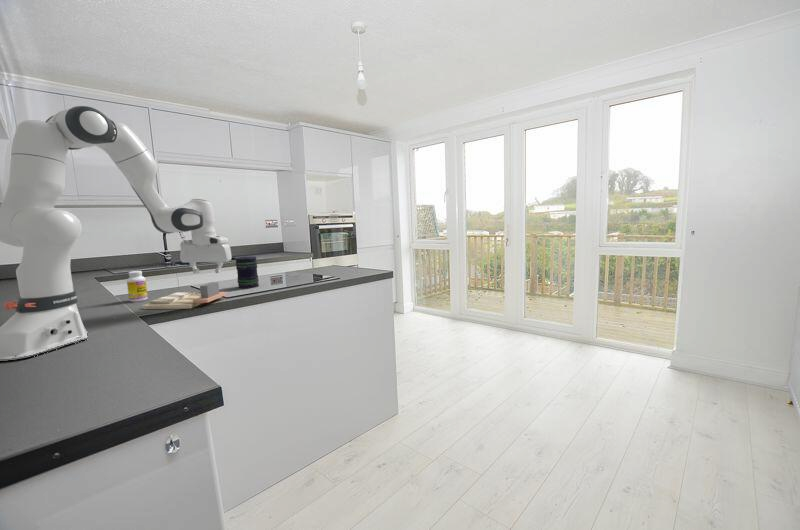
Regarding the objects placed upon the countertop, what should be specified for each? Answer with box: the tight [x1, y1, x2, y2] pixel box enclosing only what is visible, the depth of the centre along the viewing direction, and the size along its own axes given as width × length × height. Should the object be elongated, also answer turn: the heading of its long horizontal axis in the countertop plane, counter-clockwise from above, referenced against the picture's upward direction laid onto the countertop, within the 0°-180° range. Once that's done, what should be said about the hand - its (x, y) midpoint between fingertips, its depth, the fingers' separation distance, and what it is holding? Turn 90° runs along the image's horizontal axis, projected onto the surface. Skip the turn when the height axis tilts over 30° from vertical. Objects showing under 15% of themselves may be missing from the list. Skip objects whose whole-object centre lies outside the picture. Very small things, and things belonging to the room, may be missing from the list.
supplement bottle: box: [126, 270, 148, 303], centre depth 154 cm, size 7×7×13 cm
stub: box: [193, 281, 228, 304], centre depth 147 cm, size 14×6×6 cm, turn 177°
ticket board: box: [141, 291, 204, 310], centre depth 148 cm, size 20×20×3 cm
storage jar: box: [235, 256, 260, 290], centre depth 177 cm, size 10×10×15 cm
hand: (207, 272), depth 145 cm, fingers open, 8 cm apart
